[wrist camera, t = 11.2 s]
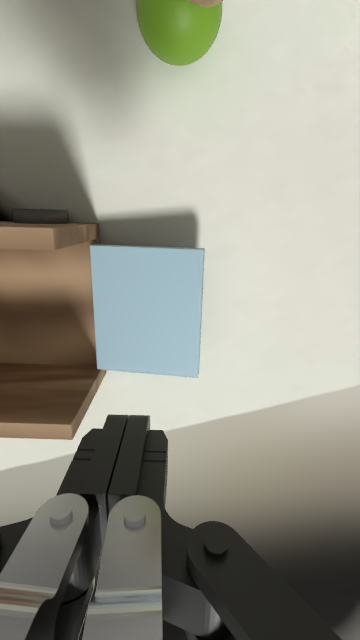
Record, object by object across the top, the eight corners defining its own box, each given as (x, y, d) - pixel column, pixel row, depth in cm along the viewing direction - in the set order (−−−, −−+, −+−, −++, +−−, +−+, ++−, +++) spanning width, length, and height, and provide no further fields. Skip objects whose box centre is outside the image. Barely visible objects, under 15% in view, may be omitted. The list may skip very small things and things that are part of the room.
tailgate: (89, 245, 26) (203, 249, 24) (99, 243, 27) (205, 247, 26) (97, 369, 29) (197, 378, 28) (105, 359, 31) (199, 367, 30)
